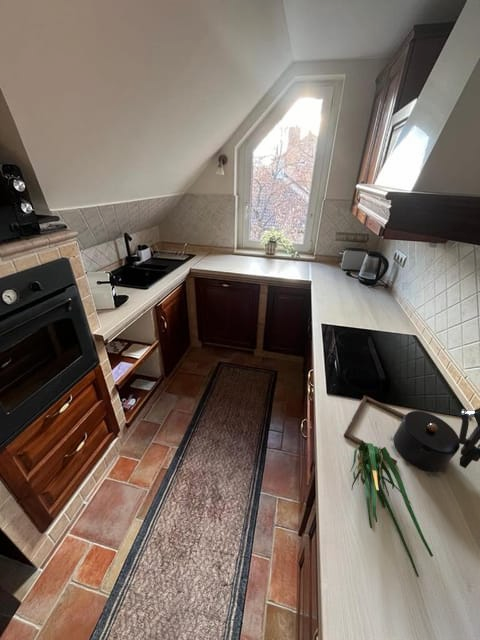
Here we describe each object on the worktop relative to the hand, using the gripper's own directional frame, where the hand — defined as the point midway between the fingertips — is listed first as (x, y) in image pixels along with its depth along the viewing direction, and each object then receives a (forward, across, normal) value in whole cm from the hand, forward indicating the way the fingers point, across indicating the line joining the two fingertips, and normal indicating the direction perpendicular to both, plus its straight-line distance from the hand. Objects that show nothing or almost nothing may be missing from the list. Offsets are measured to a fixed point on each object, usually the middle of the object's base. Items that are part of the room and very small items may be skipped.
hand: (462, 463), depth 71 cm
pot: (+4, -10, 0) cm, 10 cm away
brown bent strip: (+4, -22, +1) cm, 22 cm away
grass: (+4, -17, -24) cm, 30 cm away
